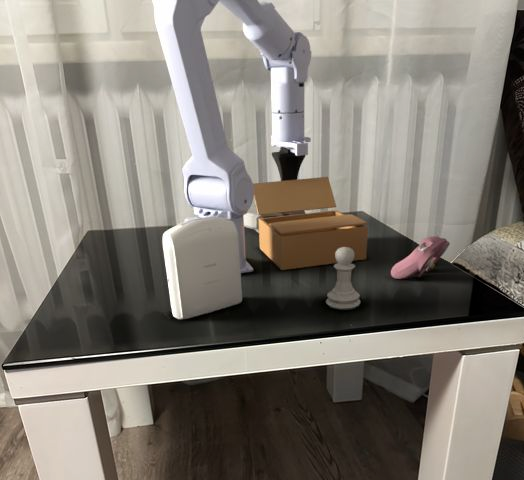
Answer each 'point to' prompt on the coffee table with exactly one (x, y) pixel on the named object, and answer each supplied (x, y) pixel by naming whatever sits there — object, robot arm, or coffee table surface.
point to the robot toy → (253, 218)
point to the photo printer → (202, 266)
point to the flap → (293, 195)
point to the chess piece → (343, 282)
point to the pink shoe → (421, 258)
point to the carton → (311, 238)
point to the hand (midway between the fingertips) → (289, 191)
